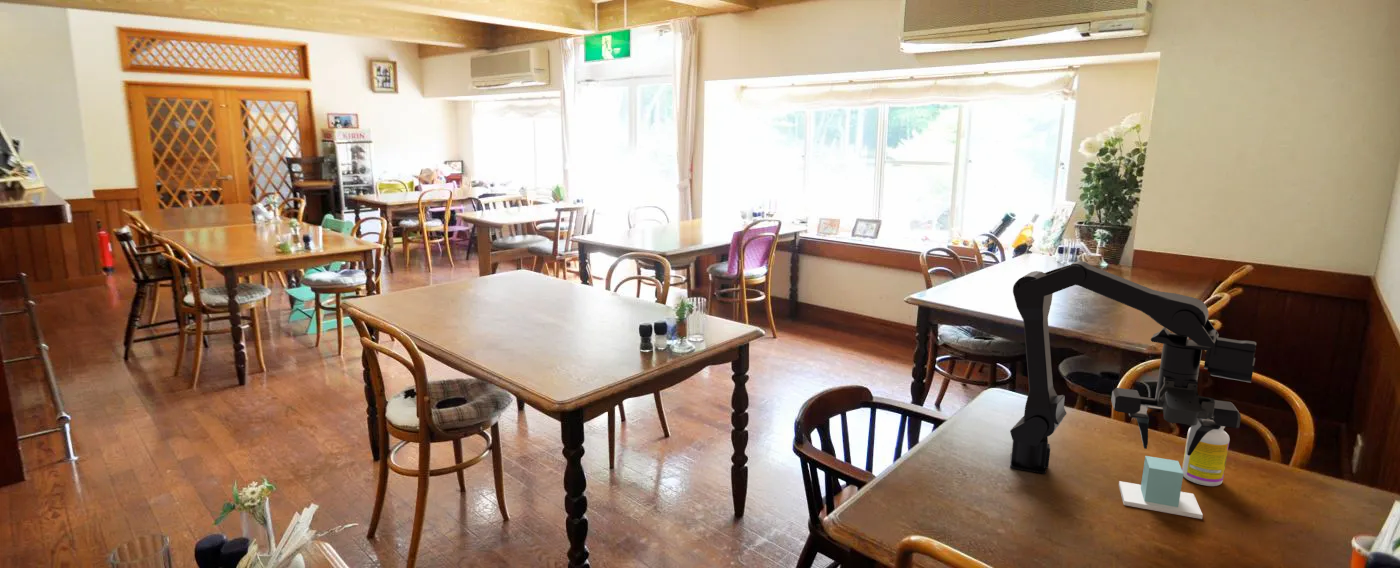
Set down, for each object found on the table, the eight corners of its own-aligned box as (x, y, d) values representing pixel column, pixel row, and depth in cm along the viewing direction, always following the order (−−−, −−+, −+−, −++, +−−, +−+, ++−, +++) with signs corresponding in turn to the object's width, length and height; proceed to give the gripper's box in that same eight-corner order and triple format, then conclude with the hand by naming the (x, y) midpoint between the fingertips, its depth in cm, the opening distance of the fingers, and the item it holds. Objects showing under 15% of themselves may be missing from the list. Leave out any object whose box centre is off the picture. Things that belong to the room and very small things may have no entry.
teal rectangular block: (1144, 501, 131) (1149, 467, 129) (1140, 488, 135) (1145, 455, 134) (1178, 507, 129) (1183, 473, 127) (1173, 493, 133) (1178, 461, 132)
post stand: (1123, 504, 131) (1128, 472, 130) (1118, 484, 138) (1122, 454, 137) (1202, 519, 126) (1207, 485, 125) (1192, 497, 133) (1197, 466, 132)
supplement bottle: (1228, 489, 136) (1240, 426, 133) (1190, 485, 138) (1200, 423, 135) (1212, 472, 143) (1222, 412, 140) (1175, 469, 144) (1184, 409, 141)
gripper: (1123, 376, 123) (1112, 460, 126) (1256, 392, 116) (1240, 481, 119) (1116, 357, 133) (1105, 435, 136) (1238, 371, 125) (1224, 453, 129)
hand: (1166, 451), depth 130 cm, fingers open, 6 cm apart
